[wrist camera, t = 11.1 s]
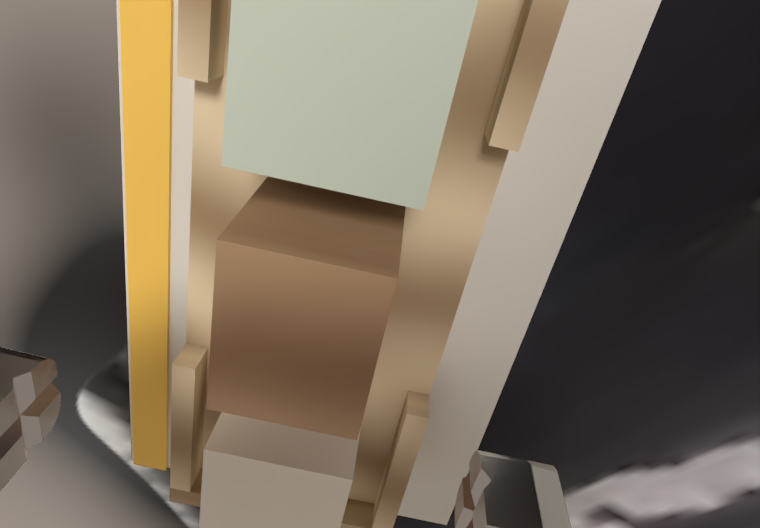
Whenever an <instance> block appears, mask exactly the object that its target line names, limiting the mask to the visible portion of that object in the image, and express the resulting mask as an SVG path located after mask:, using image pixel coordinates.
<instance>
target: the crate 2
mask: <svg viewBox="0 0 760 528" xmlns="http://www.w3.org/2000/svg"><path fill="white" fill-rule="evenodd" d="M360 430H361V427H360ZM359 436H360V431H359V435H358V439H357V440H353V439H348V438H343V437H338V436H334V435H329V434H324V433H319V432H315V431H310V430H305V429H300V428H296V427H291V426H286V425H281V424H276V423H272V422H267V421H262V420H257V419H253V418H248V417H243V416H238V415H234V414H229V413H224V412H221V414H220V416H219V419H218V421H217V423H216V425H215V427H214V429H213V431H212V433H211V435H210V437H209V439H208V441H207V444H206V446H205V448H204V454H203V471H202V487H201V503H200V519H199V528H340V527H341V523H342V519H343V515H344V512H345V508H346V504H347V500H348V496H349V492H350V489H351V485H352V481H353V475H354V469H355V462H356V456H357V449H358V443H359Z"/></svg>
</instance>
